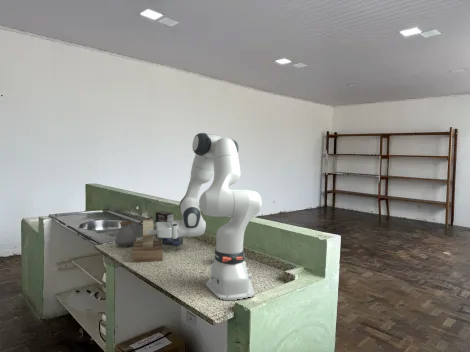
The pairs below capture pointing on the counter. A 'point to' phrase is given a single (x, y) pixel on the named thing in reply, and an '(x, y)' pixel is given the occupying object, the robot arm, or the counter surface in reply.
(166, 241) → the small box
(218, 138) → the robot arm
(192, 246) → the counter surface
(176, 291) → the counter surface
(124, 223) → the coffee pot
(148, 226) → the birch block
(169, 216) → the coffee box
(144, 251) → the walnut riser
